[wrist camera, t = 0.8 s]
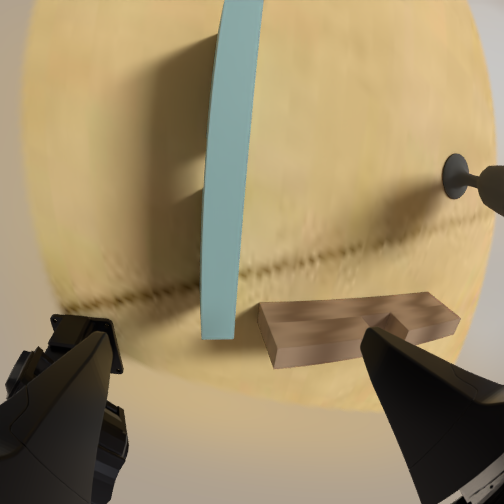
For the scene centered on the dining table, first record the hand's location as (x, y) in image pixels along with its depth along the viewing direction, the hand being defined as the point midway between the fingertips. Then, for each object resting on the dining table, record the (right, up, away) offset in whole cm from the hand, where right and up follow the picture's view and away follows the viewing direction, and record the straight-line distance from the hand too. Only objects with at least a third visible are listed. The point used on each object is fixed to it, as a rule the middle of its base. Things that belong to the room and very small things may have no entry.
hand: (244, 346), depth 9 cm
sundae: (+22, +11, +14) cm, 28 cm away
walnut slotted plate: (+11, -2, +17) cm, 20 cm away
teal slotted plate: (-2, +9, +10) cm, 14 cm away
